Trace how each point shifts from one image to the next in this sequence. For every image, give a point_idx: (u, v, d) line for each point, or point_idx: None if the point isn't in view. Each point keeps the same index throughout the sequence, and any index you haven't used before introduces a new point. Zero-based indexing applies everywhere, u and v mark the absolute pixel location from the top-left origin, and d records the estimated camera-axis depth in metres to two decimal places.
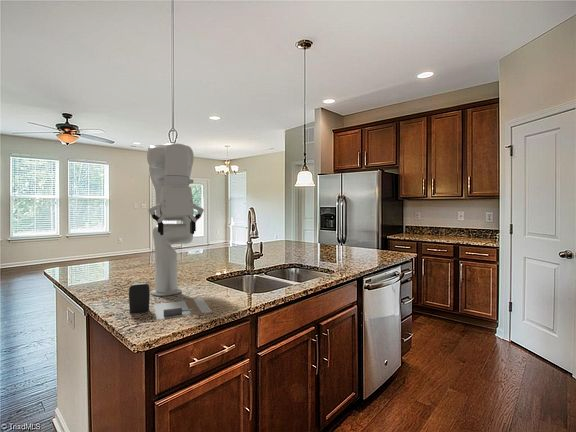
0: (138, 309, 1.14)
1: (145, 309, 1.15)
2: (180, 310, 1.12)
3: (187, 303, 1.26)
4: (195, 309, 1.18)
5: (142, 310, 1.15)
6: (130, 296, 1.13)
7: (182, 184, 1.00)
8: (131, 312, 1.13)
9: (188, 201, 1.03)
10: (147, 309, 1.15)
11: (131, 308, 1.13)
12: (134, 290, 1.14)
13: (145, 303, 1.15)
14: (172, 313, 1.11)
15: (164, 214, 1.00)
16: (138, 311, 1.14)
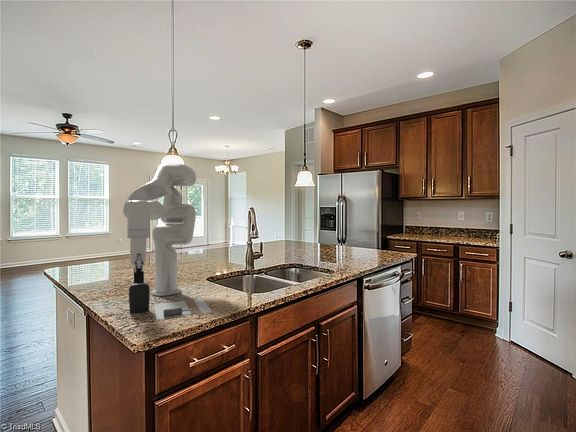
0: (138, 309, 1.14)
1: (145, 309, 1.15)
2: (180, 310, 1.12)
3: (187, 303, 1.26)
4: (195, 309, 1.18)
5: (142, 310, 1.15)
6: (130, 296, 1.13)
7: None
8: (131, 312, 1.13)
9: None
10: (147, 309, 1.15)
11: (131, 308, 1.13)
12: (134, 290, 1.14)
13: (145, 303, 1.15)
14: (172, 313, 1.11)
15: (144, 263, 1.12)
16: (138, 311, 1.14)
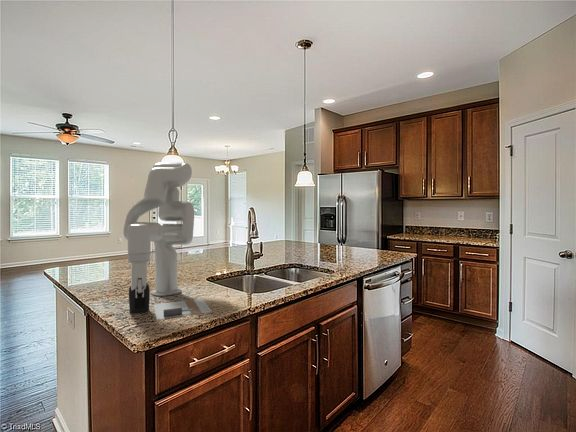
0: (138, 309, 1.14)
1: (145, 309, 1.15)
2: (180, 310, 1.12)
3: (187, 303, 1.26)
4: (195, 309, 1.18)
5: (142, 310, 1.15)
6: (130, 296, 1.13)
7: None
8: (131, 312, 1.13)
9: None
10: (147, 309, 1.15)
11: (131, 308, 1.13)
12: (134, 290, 1.14)
13: (145, 303, 1.15)
14: (172, 313, 1.11)
15: (145, 287, 1.13)
16: (138, 311, 1.14)
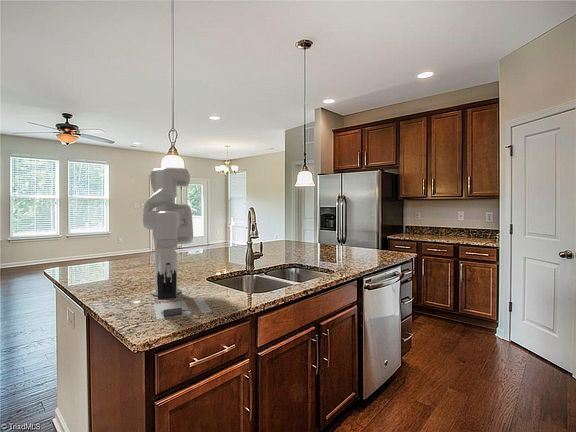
0: (166, 294, 1.18)
1: (172, 294, 1.19)
2: (180, 310, 1.12)
3: (187, 303, 1.26)
4: (195, 309, 1.18)
5: (170, 295, 1.18)
6: (158, 281, 1.17)
7: None
8: (159, 296, 1.17)
9: None
10: (174, 294, 1.19)
11: (159, 292, 1.17)
12: (162, 275, 1.17)
13: (173, 288, 1.19)
14: (172, 313, 1.11)
15: (173, 272, 1.17)
16: (166, 295, 1.18)
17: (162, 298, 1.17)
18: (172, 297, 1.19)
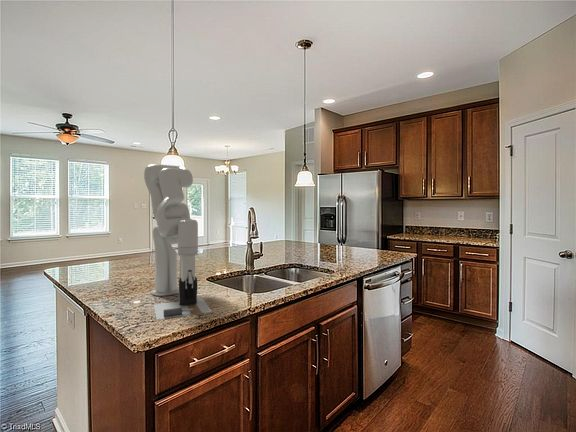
0: (187, 299, 1.22)
1: (193, 299, 1.23)
2: (180, 310, 1.12)
3: None
4: (195, 309, 1.18)
5: (191, 300, 1.22)
6: (180, 287, 1.21)
7: None
8: (181, 302, 1.21)
9: None
10: (195, 299, 1.23)
11: (181, 298, 1.21)
12: (184, 281, 1.21)
13: (194, 294, 1.23)
14: (172, 313, 1.11)
15: (194, 279, 1.21)
16: (187, 301, 1.22)
17: (183, 303, 1.22)
18: (193, 302, 1.23)
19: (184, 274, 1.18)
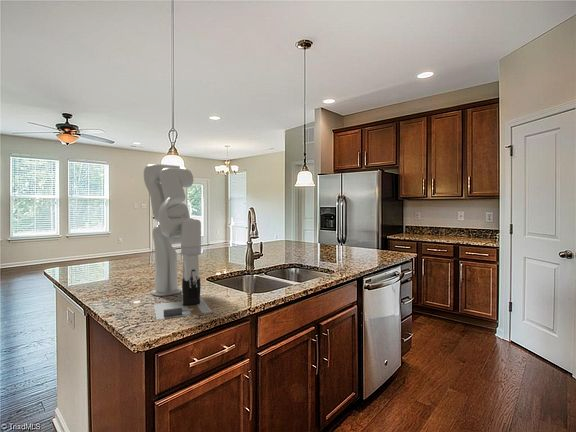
0: (190, 299, 1.23)
1: (197, 299, 1.24)
2: (180, 310, 1.12)
3: None
4: (195, 309, 1.18)
5: (194, 300, 1.23)
6: (183, 287, 1.21)
7: None
8: (184, 302, 1.22)
9: None
10: (198, 299, 1.24)
11: (184, 298, 1.22)
12: (187, 282, 1.22)
13: (197, 294, 1.23)
14: (172, 313, 1.11)
15: None
16: (190, 301, 1.23)
17: (187, 304, 1.22)
18: (196, 303, 1.24)
19: (188, 274, 1.18)
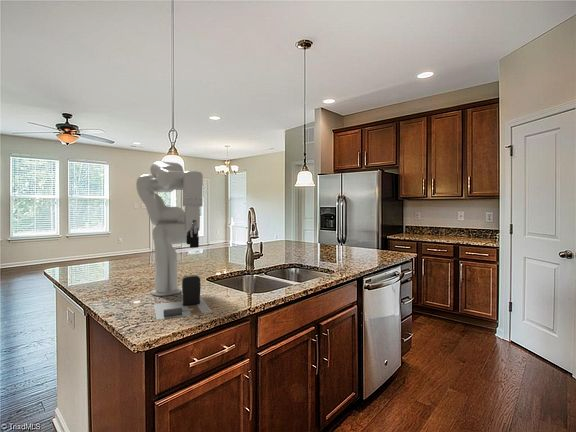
0: (190, 299, 1.23)
1: (197, 299, 1.24)
2: (180, 310, 1.12)
3: None
4: (195, 309, 1.18)
5: (194, 300, 1.23)
6: (183, 287, 1.21)
7: None
8: (184, 302, 1.22)
9: None
10: (198, 299, 1.24)
11: (184, 298, 1.22)
12: (187, 282, 1.22)
13: (197, 294, 1.23)
14: (172, 313, 1.11)
15: None
16: (190, 301, 1.23)
17: (187, 304, 1.22)
18: (196, 303, 1.24)
19: (189, 224, 1.19)
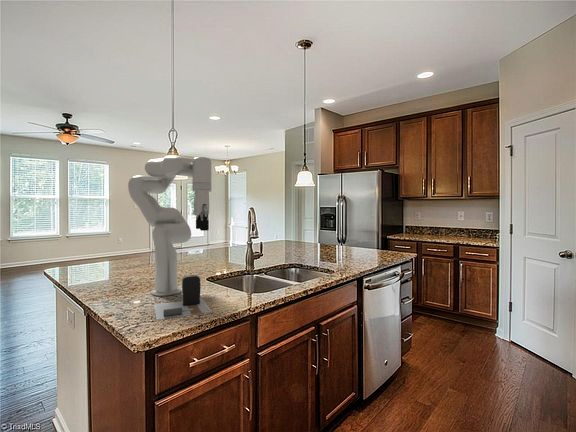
0: (190, 299, 1.23)
1: (197, 299, 1.24)
2: (180, 310, 1.12)
3: None
4: (195, 309, 1.18)
5: (194, 300, 1.23)
6: (183, 287, 1.21)
7: None
8: (184, 302, 1.22)
9: None
10: (198, 299, 1.24)
11: (184, 298, 1.22)
12: (187, 282, 1.22)
13: (197, 294, 1.23)
14: (172, 313, 1.11)
15: (208, 213, 1.26)
16: (190, 301, 1.23)
17: (187, 304, 1.22)
18: (196, 303, 1.24)
19: (199, 207, 1.23)
